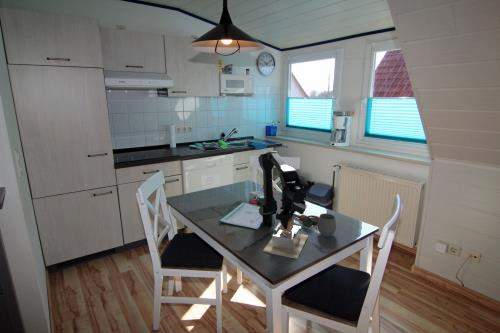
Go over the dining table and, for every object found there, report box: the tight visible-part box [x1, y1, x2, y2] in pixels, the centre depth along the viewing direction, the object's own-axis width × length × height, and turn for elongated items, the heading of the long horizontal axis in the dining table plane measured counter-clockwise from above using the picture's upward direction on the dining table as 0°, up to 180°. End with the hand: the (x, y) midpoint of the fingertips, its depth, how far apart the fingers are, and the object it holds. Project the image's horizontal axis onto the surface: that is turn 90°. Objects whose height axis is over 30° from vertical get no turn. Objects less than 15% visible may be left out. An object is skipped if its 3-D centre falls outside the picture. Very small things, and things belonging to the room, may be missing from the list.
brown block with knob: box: [280, 217, 295, 232], centre depth 140 cm, size 5×5×7 cm
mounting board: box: [262, 233, 309, 260], centre depth 143 cm, size 22×16×1 cm
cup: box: [316, 213, 337, 238], centre depth 150 cm, size 10×9×10 cm
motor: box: [271, 222, 302, 251], centre depth 143 cm, size 17×10×8 cm, turn 157°
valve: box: [292, 213, 320, 229], centre depth 168 cm, size 6×26×15 cm
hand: (287, 226), depth 140 cm, fingers closed on brown block with knob, 5 cm apart
